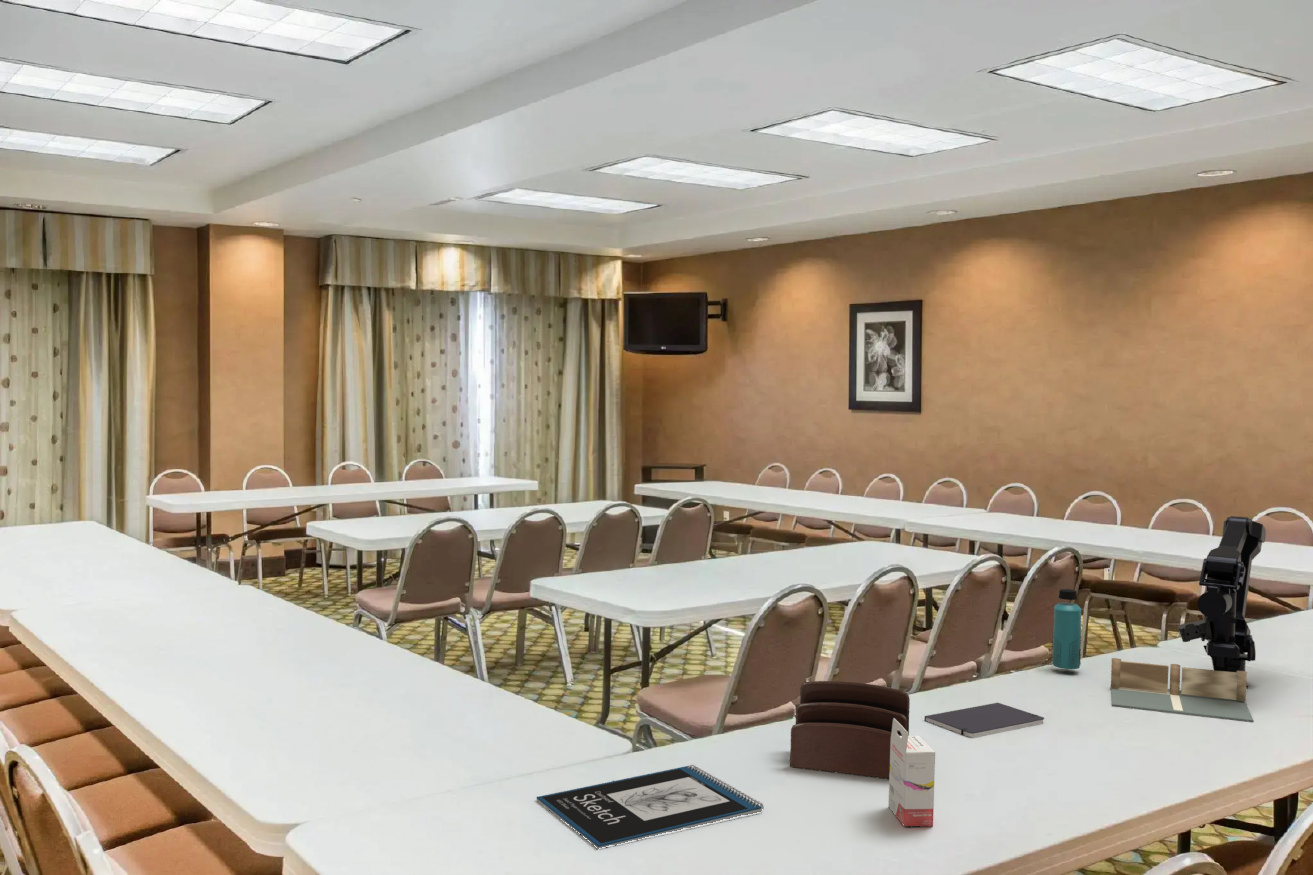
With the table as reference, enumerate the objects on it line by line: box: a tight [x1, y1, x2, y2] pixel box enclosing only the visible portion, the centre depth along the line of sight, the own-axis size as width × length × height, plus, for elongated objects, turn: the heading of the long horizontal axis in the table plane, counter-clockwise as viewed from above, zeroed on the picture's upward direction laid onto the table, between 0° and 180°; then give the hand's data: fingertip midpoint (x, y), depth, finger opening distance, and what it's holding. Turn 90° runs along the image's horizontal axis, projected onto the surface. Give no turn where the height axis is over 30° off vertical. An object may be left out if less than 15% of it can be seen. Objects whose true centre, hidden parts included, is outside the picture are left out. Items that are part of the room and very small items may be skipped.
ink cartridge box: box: [888, 718, 936, 828], centre depth 174 cm, size 9×5×15 cm, turn 5°
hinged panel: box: [1180, 666, 1248, 702], centre depth 243 cm, size 13×2×6 cm, turn 68°
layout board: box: [1110, 687, 1255, 723], centre depth 241 cm, size 19×27×1 cm
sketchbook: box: [536, 764, 765, 850], centre depth 177 cm, size 22×30×2 cm
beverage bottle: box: [1051, 588, 1082, 670], centre depth 265 cm, size 6×7×20 cm
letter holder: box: [789, 680, 911, 780], centre depth 197 cm, size 10×20×14 cm, turn 72°
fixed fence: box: [1110, 657, 1181, 695], centre depth 248 cm, size 2×14×7 cm, turn 68°
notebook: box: [923, 702, 1045, 739], centre depth 225 cm, size 13×2×21 cm
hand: (1218, 680), depth 246 cm, fingers closed
